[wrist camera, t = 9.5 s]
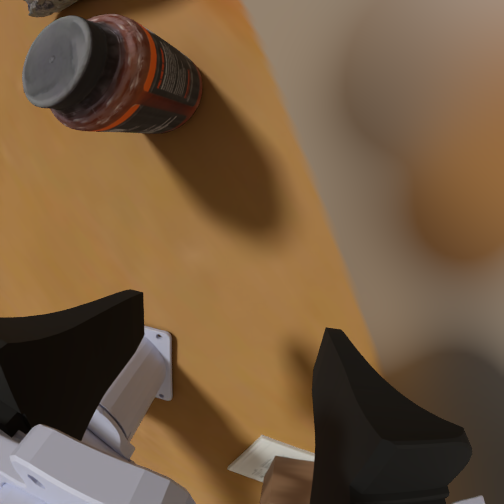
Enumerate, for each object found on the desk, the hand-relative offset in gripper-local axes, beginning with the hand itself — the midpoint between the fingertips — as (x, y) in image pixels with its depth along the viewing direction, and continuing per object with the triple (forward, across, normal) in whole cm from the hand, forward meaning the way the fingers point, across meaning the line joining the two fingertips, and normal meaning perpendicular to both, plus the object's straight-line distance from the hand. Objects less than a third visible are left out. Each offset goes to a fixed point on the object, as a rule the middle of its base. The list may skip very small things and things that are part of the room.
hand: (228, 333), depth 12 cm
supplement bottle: (+11, +8, -10) cm, 17 cm away
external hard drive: (+12, -7, +25) cm, 28 cm away
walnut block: (+10, -7, +24) cm, 27 cm away
